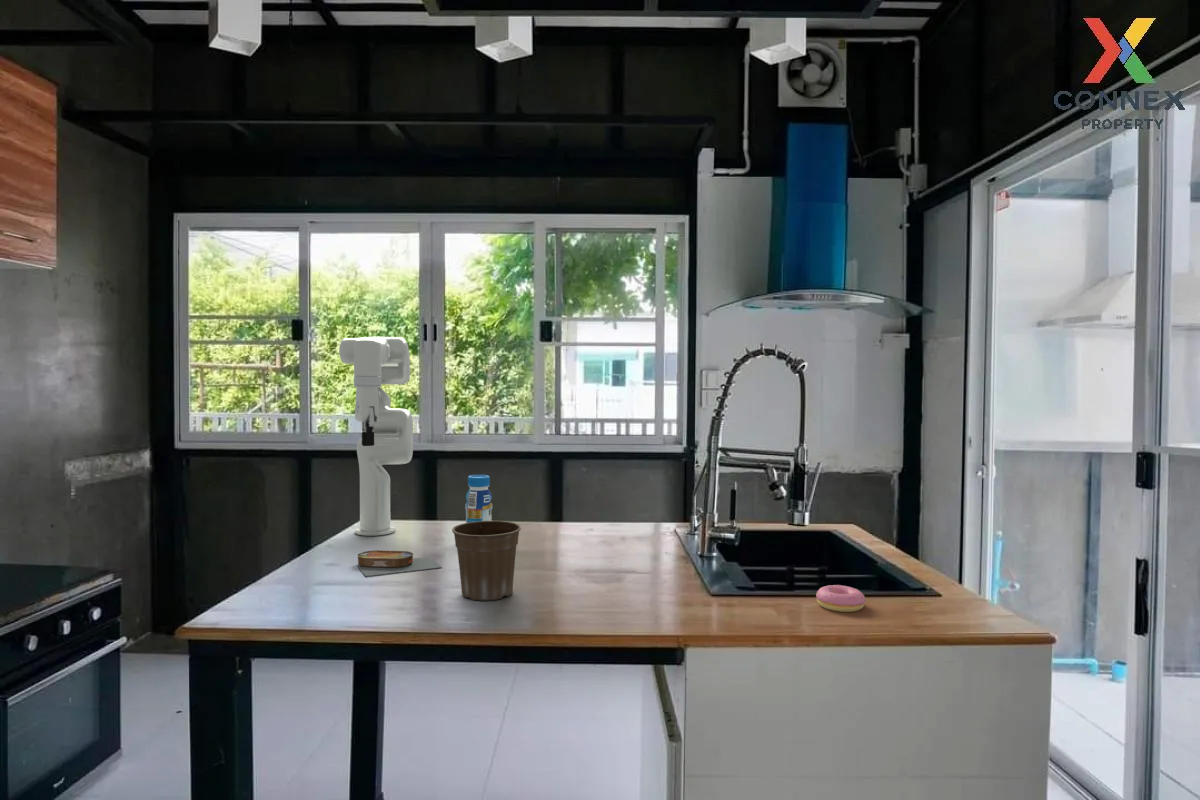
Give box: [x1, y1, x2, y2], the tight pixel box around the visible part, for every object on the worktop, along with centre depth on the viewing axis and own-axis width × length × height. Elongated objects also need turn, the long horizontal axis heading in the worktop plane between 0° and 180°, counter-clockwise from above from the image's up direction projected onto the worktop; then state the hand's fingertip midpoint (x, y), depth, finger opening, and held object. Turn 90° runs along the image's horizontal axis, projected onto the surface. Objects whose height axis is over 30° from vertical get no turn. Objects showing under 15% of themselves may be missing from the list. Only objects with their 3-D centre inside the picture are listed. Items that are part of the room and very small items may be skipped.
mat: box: [356, 556, 443, 577], centre depth 204 cm, size 12×20×1 cm, turn 118°
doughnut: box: [815, 584, 866, 613], centre depth 174 cm, size 11×11×4 cm
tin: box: [357, 549, 414, 568], centre depth 205 cm, size 15×3×8 cm
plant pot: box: [451, 520, 522, 602], centre depth 180 cm, size 16×16×16 cm
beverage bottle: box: [464, 474, 493, 523], centre depth 237 cm, size 8×8×20 cm
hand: (368, 445), depth 218 cm, fingers closed
